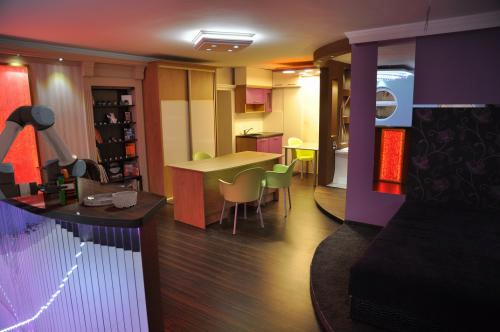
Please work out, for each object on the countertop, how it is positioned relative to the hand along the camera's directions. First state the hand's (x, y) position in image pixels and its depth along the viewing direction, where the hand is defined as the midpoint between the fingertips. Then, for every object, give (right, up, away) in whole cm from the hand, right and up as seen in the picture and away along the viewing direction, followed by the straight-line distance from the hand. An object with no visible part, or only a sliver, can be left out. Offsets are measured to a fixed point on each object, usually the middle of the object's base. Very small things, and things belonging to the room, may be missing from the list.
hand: (71, 184), depth 202 cm
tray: (+18, -11, +1) cm, 21 cm away
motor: (-2, -11, 0) cm, 11 cm away
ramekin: (+35, -12, -8) cm, 38 cm away
